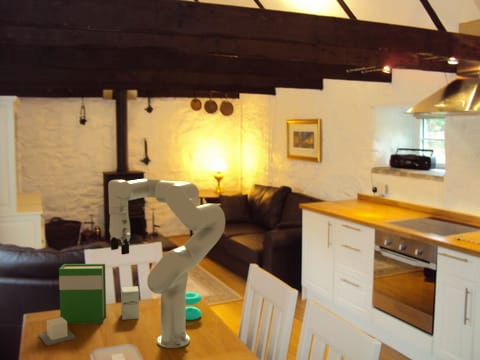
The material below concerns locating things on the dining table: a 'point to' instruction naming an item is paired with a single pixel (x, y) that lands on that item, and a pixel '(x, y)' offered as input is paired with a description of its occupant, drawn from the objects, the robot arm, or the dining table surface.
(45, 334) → the charcoal mat
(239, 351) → the dining table surface
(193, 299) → the donuts
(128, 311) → the supplement box
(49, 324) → the painted cube
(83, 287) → the hardback book
